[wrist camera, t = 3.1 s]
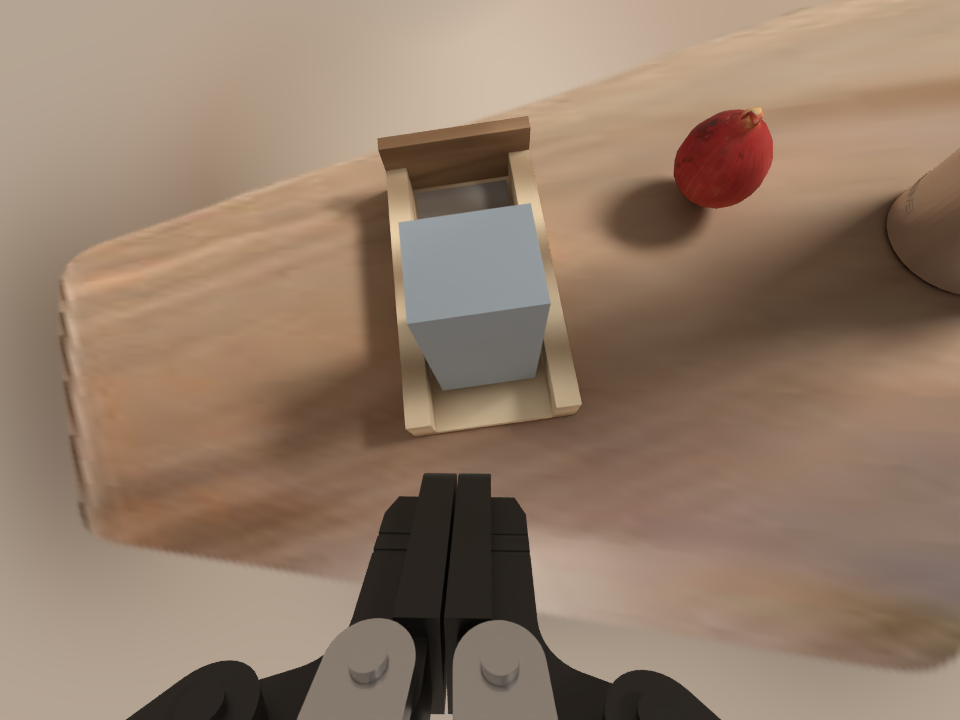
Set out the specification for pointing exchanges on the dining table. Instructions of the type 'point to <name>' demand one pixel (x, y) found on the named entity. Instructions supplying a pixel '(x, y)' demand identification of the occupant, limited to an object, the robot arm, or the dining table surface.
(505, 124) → the wooden tray frame
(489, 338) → the block
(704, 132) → the pomegranate
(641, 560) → the dining table surface
